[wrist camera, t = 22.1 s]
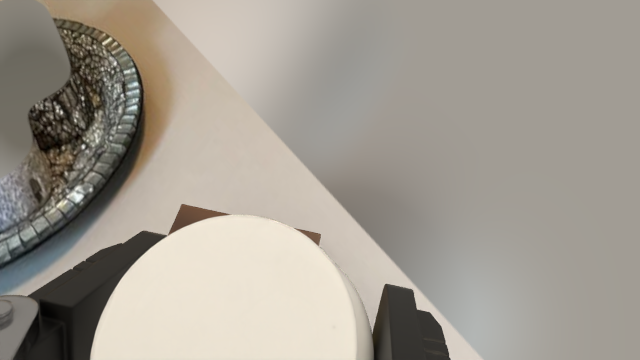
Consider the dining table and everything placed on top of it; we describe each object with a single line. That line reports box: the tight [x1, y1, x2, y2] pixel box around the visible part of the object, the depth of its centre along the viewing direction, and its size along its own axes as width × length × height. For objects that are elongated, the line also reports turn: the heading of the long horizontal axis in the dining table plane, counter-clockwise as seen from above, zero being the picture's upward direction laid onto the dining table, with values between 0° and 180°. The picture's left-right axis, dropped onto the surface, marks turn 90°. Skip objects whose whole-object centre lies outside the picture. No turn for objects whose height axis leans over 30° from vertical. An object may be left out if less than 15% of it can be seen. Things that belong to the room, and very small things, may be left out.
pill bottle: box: [90, 215, 374, 360], centre depth 11 cm, size 6×6×11 cm
